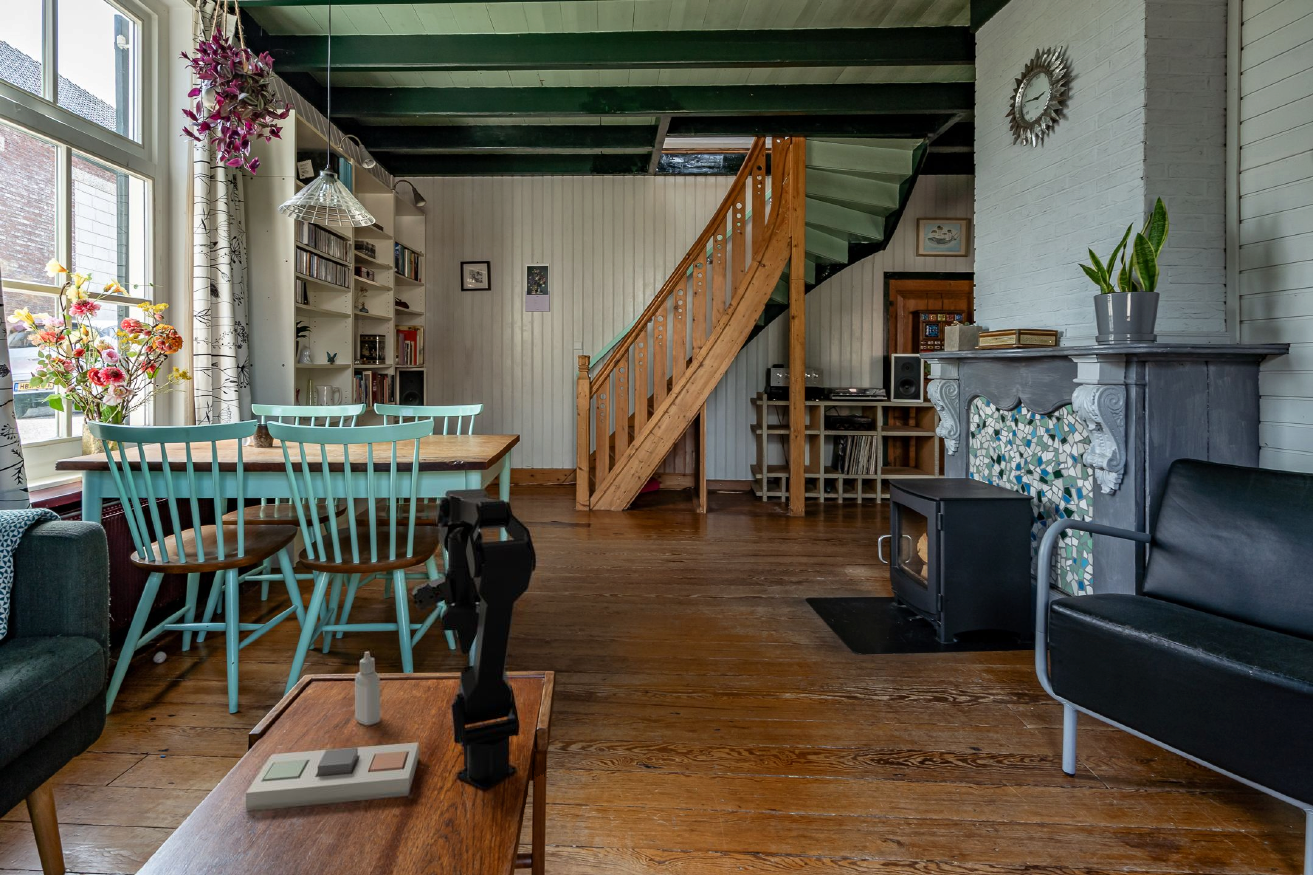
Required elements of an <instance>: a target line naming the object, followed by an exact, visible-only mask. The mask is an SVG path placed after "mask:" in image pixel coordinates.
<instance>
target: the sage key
mask: <svg viewBox="0 0 1313 875" xmlns="http://www.w3.org/2000/svg"><path fill="white" fill-rule="evenodd" d="M306 766H307V759H306V760H294V761H282V762H275V763H274V764H273V766H272V767H271V769H270V770H269V772H268V773H267V775H266V776H265V778H264V781H275V780H287V779H298V778H300V777H301V775H302V773H303V771H304V770H305V768H306Z"/></svg>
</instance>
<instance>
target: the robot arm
mask: <svg viewBox="0 0 1313 875" xmlns="http://www.w3.org/2000/svg"><path fill="white" fill-rule="evenodd" d="M444 495H445V497H441V499H440V502H439V504H438V505H437V510H436V514H435V523H436V525H438V527H439V528H440V529H439V532H438V536H437V537H438V541H439V543H440V545H441V546H442V548H444V550H445V551H446V552H447V562H448V563H447V569H446V572H445V575H444V576H442V577H441V576H440V577H438V578H434V579H432V580H430V581H427V582H424V583H422V584H419V585H417V586H415V587H414V588H413V590H412V592H411V596H412V598H413V601H412V604H413V605H415V606H416V607H417V611H419V612H420V611H424V610H427V608H428V607H432V606H433V605H436V604H440V603H441V602H444V605H449V606H448V607H447V608H445V609H444V610H443V611H442V614H441V618H440V630H442V631H444V632H445V631H446V632H447V631H456V635H457V639H458V642H459V643H458V644H459V646H460V651H461V654H463V655H469V653H470V651H471V649H472V646H473V644H474V642H475V647H474V654H473V663H472V665H469V666H468V665H467V666H463V667H462V669H461V670H460V675H459V676H460V677H459V679H460V680H459V684H458V692H457V693H455V694H454V698H453V702H452V704H451V705H450V706H451V716H452V725H453V743H454V744H460V746H461V748H463V767H464V768H463V769H461V770H460V771H458V772H457V773H456V777H457V778H458V779H460V780H462V781H464V782H467V783H469V784H470V785H472V786H475V787H476V788H479V789H481V790H483V791H488V790H490V789H492V788H493V787H494V786H496V785H498V784H499V783H501V782H502V781H504V780H505V779H507V778H509V777H510V776H512V775H513V774H515V773H517V771H518V769H517V766H514V765H512V764H510V737H516V736H519V733H520V721H519V716H518V710H517V704H516V700H515V699H516V698H515V695H514V694H515V693H514V690H513V687H512V686H513V685H511V684H510V681H509V678H508V675H507V671H506V663H507V662H506V661H507V656H508V651H509V650H508V649H509V641H510V636H511V630H512V629H511V628H512V623H513V622H512V621H513V615H514V609H515V608H514V607H515V602H516V601H518V600H519V598H520V597H521V596H522V595H524V594H525V593H526V592H527V590H528V589H529V587H530V583H531V579H532V576H533V573H534V572H535V570H536V566H537V557H536V550H535V547H534V544H533V539H532V536H531V533H530V529H529V528H527V527H526V525H524V523H523V522H521V521H520V520H519V519H518V518H517V517H516V516H515V515H514V514H513V511H512V510H513V509H512V507H511V503H510V502H509V501H506V500H504V499H498V500H497V499H493V498H491V497H490V496H489V493H488V492H487V491H486V490H485V489H484V488H473V489H471V488H470V489H451V490H450V489H449V490H446V491H445V494H444ZM503 528H504V531H505V533H506V534H507V535H509V537H511V538H512V539H508V540H507V539H506V540H497V541H496V540H495V541H484V535H483V533H482V532H481V531H480V530H486V529H487V530H489V529H490V530H491V529H503ZM479 603H480V604H479ZM502 718H506V719H502ZM498 719H499V720H498ZM500 719H501V720H500ZM492 720H495V721H492ZM496 720H497V721H496ZM488 721H489V722H488ZM490 721H492V722H490ZM483 722H484V723H483ZM485 722H487V723H485ZM478 723H482V724H478ZM474 724H477V725H474ZM468 725H472V726H468ZM466 726H467V727H466Z"/></svg>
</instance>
